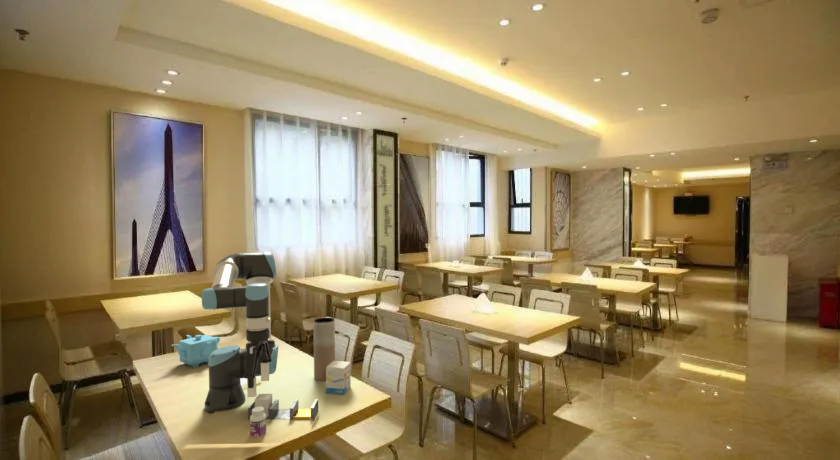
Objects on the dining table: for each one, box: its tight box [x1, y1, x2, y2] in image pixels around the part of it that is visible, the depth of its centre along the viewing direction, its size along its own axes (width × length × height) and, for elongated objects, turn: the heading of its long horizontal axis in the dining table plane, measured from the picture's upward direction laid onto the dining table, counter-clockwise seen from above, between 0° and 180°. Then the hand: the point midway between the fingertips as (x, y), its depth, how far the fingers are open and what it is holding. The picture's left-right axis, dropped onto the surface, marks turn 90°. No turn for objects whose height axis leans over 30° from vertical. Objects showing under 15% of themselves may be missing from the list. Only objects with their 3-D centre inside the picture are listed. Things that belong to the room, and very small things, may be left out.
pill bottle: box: [249, 407, 267, 438], centre depth 147 cm, size 5×5×10 cm
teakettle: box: [171, 334, 221, 368], centre depth 221 cm, size 19×19×15 cm
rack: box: [247, 398, 319, 422], centre depth 162 cm, size 24×8×5 cm, turn 92°
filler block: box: [254, 393, 273, 418], centre depth 161 cm, size 5×5×7 cm
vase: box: [312, 316, 336, 382], centre depth 200 cm, size 10×10×28 cm
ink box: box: [325, 360, 352, 395], centre depth 186 cm, size 9×8×12 cm
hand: (258, 388), depth 147 cm, fingers open, 13 cm apart
